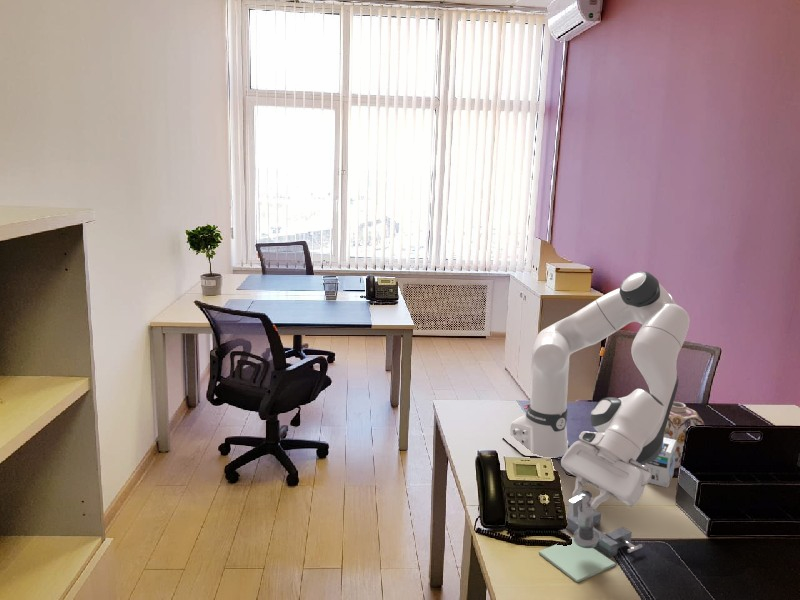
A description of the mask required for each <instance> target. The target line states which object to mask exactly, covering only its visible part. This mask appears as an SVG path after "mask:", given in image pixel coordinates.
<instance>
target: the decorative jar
mask: <svg viewBox="0 0 800 600" xmlns="http://www.w3.org/2000/svg"><path fill="white" fill-rule="evenodd" d="M696 425H704V426H705V422H704V421H703V419H702V418H701V416H700V415H699V414H698V412H697V411H696V410H694V409H692V408H689V407H687V405H686V404H685V403H683V402H680V401H674V402H673V405H672V408H671V411H670V415H669V418H668V421H667V425H666V428H665V432H664V437H665V438H669V439H674V440H677V445H676V455H675V464H674V470H675V469H677V468H680V467H679V465H680V461H681V457H682V452H683V446H684V439H685V432H686V429H687V428H688V427H689V426H696Z"/></svg>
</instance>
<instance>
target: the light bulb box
mask: <svg viewBox="0 0 800 600" xmlns="http://www.w3.org/2000/svg"><path fill="white" fill-rule="evenodd" d="M676 445H677V440H674V439H669V438H665V437H664V439H663V446H662V450H661V452H660V454H659V456H658V457H657V458H656V459H655V460H654V461H652V462H649V463H645V464H644V465H645V466H647V467H649V470H650V471H651V473H652V477H651V479H650V481H649V482H648V483H649V484H653V485H657V486H660V487H663V488H668V487H669V485H670V483H671V481H672V479H673V476H674V475H675V472H674V471H675V469H674V464H675V455H676ZM648 472H649V471H648Z"/></svg>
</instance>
